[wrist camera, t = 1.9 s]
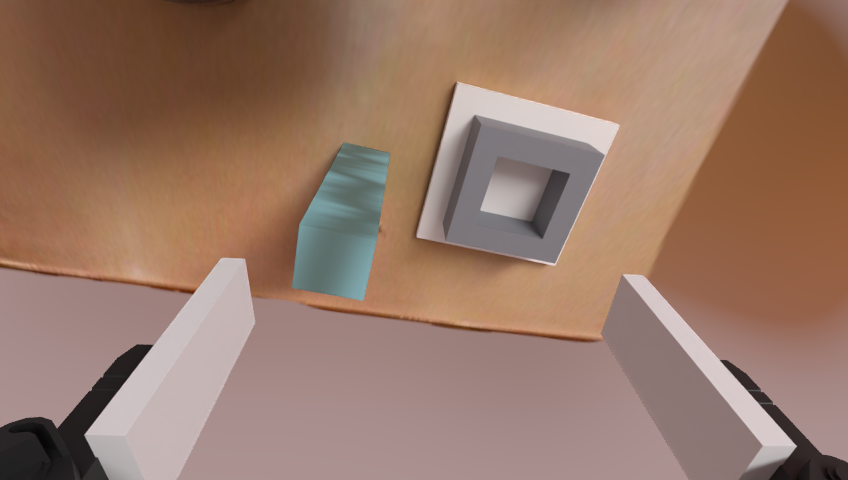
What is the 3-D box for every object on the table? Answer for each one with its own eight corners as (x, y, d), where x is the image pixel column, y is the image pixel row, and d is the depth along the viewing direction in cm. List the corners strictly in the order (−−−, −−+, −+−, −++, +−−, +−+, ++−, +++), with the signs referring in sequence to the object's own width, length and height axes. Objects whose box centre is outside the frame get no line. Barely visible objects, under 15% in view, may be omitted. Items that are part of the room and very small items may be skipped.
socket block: (416, 232, 39) (416, 256, 35) (456, 81, 33) (463, 89, 29) (552, 260, 41) (567, 286, 37) (614, 122, 35) (640, 135, 31)
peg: (337, 185, 37) (291, 287, 23) (344, 142, 35) (299, 224, 21) (381, 194, 37) (363, 300, 23) (390, 153, 36) (376, 240, 21)
